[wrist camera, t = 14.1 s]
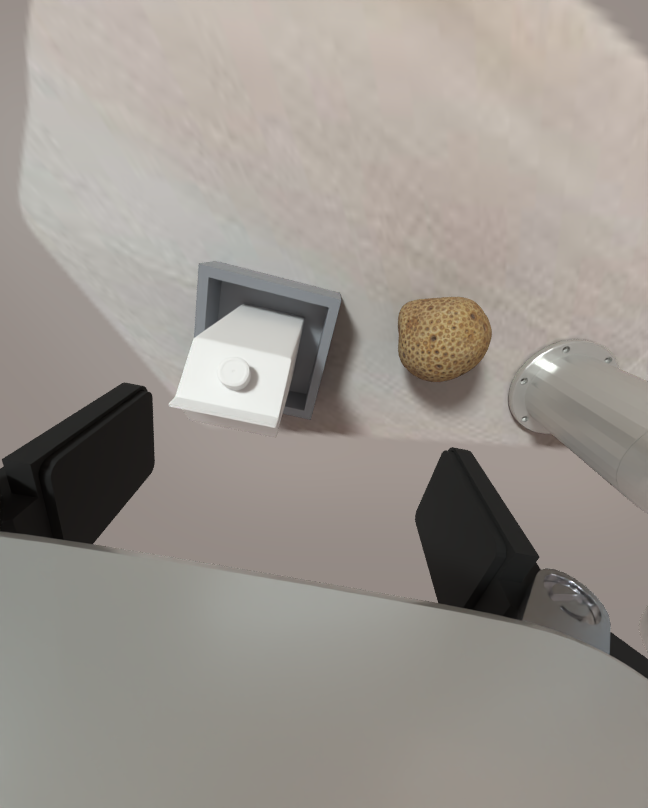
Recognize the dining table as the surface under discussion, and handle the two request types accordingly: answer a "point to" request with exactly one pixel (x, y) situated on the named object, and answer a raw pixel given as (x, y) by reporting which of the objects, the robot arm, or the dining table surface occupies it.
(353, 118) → the dining table surface
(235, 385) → the milk carton
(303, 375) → the box
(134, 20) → the dining table surface
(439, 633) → the robot arm
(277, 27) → the dining table surface
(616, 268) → the dining table surface
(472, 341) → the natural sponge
